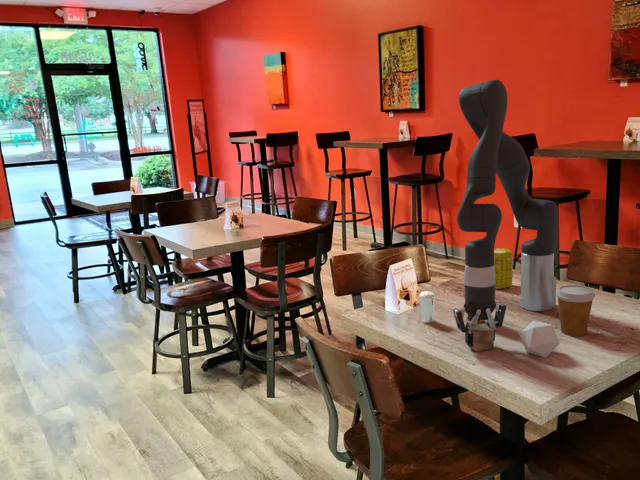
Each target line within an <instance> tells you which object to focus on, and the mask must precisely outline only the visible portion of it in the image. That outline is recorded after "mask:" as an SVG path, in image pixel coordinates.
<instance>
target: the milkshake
mask: <svg viewBox="0 0 640 480" xmlns="http://www.w3.org/2000/svg"><path fill="white" fill-rule="evenodd" d="M438 289H439V288H437V289H436V291H435V293H434V292H433V291H429V290H425V291H421V292H420V293H419V295H418V297H419V304H420V305H419V306H420V312H421V313H420V314H421V321H422V323H425V324H431V323H434V320H435V319H434V315H435V314H434V313H435V303H436V302H435V299H436V293H437V292H438V291H439V290H438Z"/></svg>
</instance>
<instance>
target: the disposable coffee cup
mask: <svg viewBox="0 0 640 480" xmlns="http://www.w3.org/2000/svg"><path fill="white" fill-rule="evenodd" d="M595 296H596V295H595V293H594V290H593V288H591V287H589V286H585V285H579V284H564V285H560V286H558V288H557V289H556V298H557V304H558V305H557V306H558V313H559V323H560V331H561V333H563V334H564V335H567V336H570V337H571V336H572V337H582V336H585V335H587V333H588V327H589V322H590V316H591V310H592V306H593V302H594V299H595Z"/></svg>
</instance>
